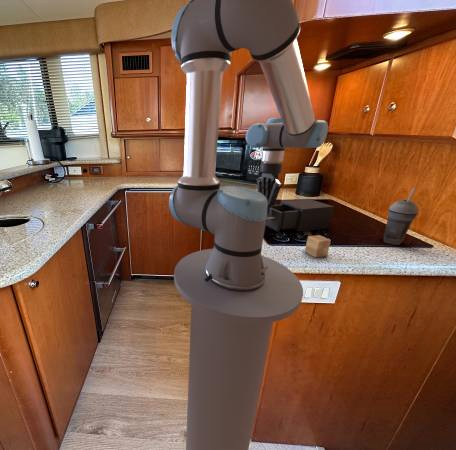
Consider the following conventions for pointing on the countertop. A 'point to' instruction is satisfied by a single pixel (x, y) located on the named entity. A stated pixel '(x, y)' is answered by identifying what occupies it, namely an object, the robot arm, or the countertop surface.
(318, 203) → the dark brown box
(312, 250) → the block
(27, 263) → the countertop surface
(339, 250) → the countertop surface
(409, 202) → the beverage cup
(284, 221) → the basket
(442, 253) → the countertop surface
